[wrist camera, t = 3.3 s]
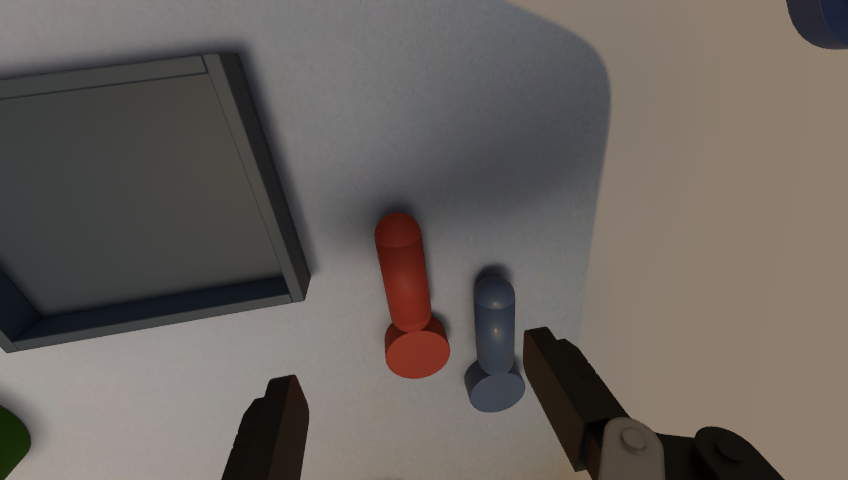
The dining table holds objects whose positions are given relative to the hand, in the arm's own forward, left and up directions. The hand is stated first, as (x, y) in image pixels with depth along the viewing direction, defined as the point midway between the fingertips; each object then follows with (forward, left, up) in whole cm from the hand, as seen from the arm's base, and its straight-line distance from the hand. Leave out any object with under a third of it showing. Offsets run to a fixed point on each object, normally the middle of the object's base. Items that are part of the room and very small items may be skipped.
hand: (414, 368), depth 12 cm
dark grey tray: (+12, -5, -9) cm, 16 cm away
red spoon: (0, +3, -9) cm, 9 cm away
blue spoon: (-5, +8, -9) cm, 13 cm away
